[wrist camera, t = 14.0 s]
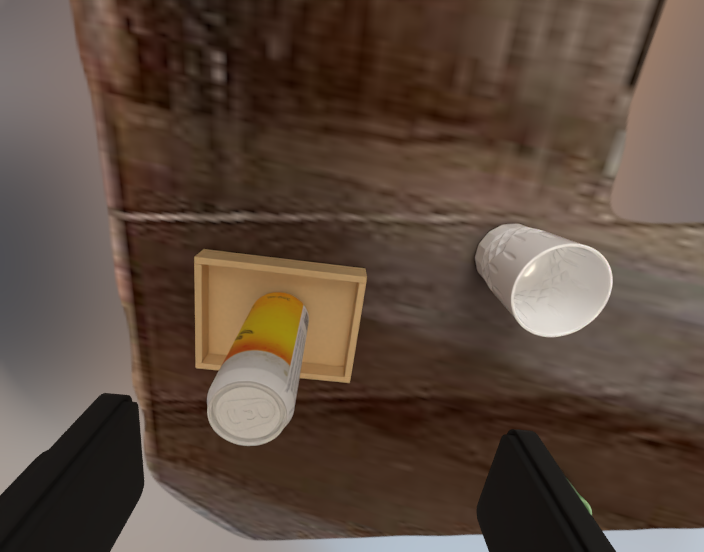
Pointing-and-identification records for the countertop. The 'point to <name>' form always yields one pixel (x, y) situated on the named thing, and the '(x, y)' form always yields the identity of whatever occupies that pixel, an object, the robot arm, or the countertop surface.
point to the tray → (288, 277)
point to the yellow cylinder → (260, 372)
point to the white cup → (544, 278)
